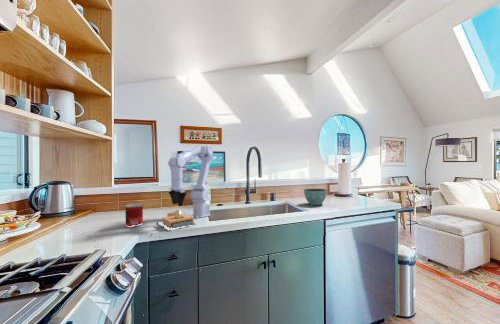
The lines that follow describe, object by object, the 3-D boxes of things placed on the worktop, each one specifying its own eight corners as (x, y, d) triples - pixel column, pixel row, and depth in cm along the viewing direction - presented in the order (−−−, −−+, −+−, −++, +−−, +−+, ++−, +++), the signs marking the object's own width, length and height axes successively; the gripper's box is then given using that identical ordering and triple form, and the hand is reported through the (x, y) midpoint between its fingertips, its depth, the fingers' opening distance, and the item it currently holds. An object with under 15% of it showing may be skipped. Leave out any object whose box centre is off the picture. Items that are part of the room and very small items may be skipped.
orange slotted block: (185, 219, 118) (185, 210, 118) (193, 223, 109) (193, 213, 109) (162, 223, 110) (162, 213, 110) (169, 228, 101) (169, 217, 101)
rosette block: (182, 218, 123) (182, 213, 123) (196, 225, 109) (196, 219, 109) (157, 223, 114) (156, 218, 114) (168, 231, 100) (168, 225, 100)
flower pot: (299, 203, 161) (299, 189, 161) (316, 201, 167) (315, 187, 168) (314, 207, 146) (314, 191, 146) (332, 205, 153) (331, 189, 153)
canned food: (146, 223, 114) (145, 203, 114) (134, 228, 107) (134, 206, 107) (134, 223, 116) (134, 203, 116) (122, 227, 109) (121, 205, 109)
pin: (180, 223, 110) (180, 210, 110) (182, 224, 108) (182, 211, 108) (174, 224, 108) (174, 210, 109) (176, 225, 106) (176, 211, 106)
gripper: (164, 179, 115) (165, 204, 115) (174, 180, 104) (175, 208, 104) (177, 178, 120) (178, 202, 119) (188, 179, 108) (188, 206, 108)
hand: (177, 205), depth 112 cm, fingers open, 7 cm apart
